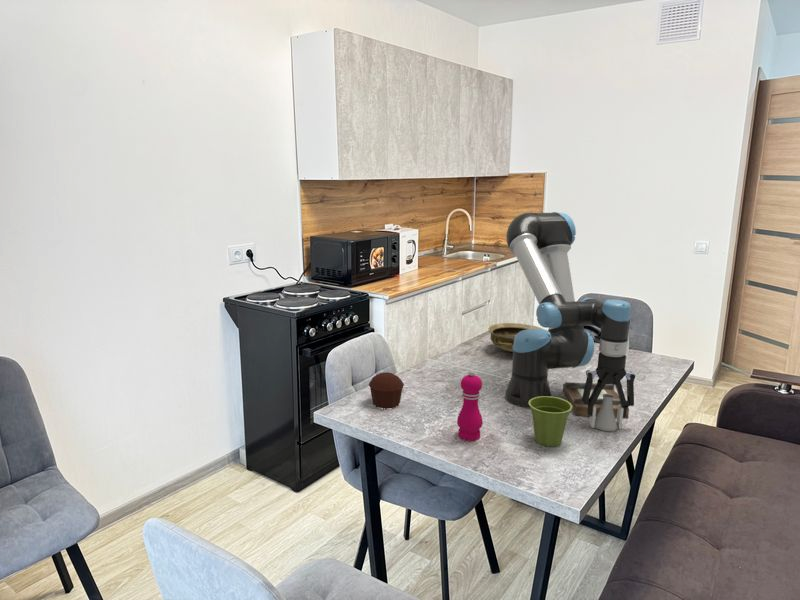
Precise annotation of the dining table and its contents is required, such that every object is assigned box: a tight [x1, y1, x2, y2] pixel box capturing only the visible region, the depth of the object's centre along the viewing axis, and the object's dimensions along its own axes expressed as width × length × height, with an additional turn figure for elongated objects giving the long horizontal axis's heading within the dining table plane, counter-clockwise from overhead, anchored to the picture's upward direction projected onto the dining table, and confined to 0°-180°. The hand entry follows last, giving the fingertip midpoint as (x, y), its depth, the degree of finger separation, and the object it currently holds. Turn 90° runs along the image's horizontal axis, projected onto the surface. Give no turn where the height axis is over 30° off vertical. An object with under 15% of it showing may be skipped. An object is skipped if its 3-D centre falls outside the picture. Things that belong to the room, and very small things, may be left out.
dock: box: [561, 381, 630, 419], centre depth 184 cm, size 16×20×4 cm
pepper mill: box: [456, 369, 483, 442], centre depth 159 cm, size 7×7×20 cm
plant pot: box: [529, 396, 573, 447], centre depth 157 cm, size 12×12×11 cm
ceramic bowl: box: [488, 322, 543, 356], centre depth 235 cm, size 30×24×10 cm
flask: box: [593, 394, 619, 432], centre depth 167 cm, size 7×7×10 cm
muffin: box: [368, 371, 405, 410], centre depth 182 cm, size 12×11×10 cm
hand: (605, 426), depth 168 cm, fingers closed on flask, 7 cm apart
